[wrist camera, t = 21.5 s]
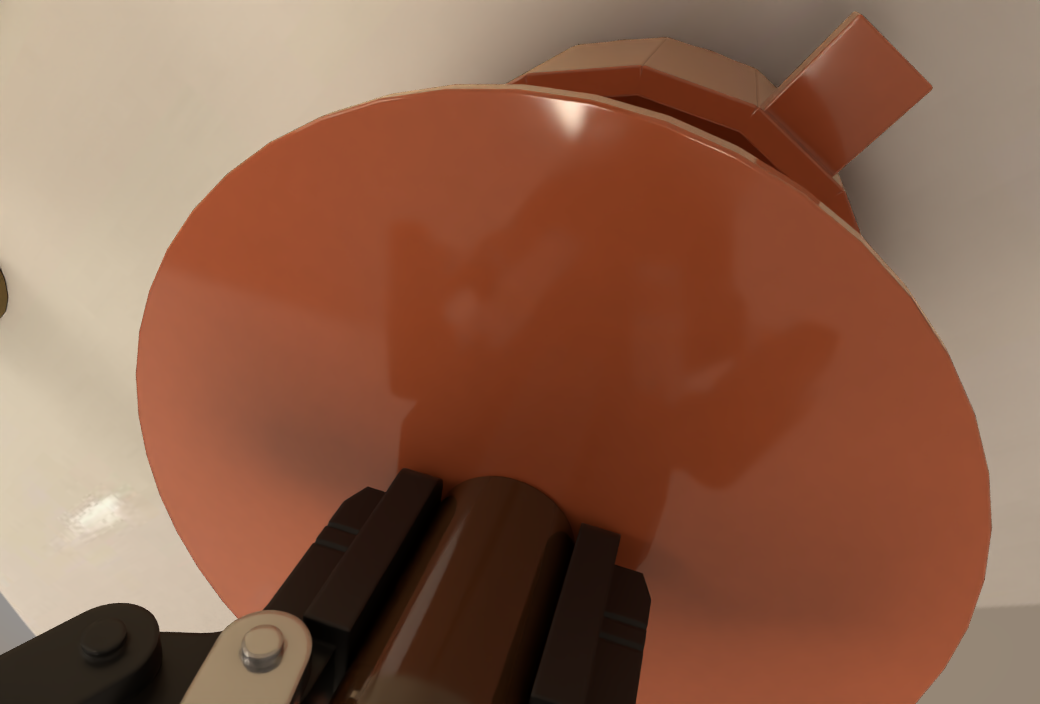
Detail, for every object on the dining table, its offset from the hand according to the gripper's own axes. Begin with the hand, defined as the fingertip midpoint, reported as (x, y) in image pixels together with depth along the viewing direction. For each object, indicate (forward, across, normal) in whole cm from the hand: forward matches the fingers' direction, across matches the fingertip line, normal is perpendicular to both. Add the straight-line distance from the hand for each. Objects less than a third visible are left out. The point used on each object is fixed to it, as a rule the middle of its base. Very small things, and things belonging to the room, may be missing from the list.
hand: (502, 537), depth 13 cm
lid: (+1, 0, 0) cm, 1 cm away
